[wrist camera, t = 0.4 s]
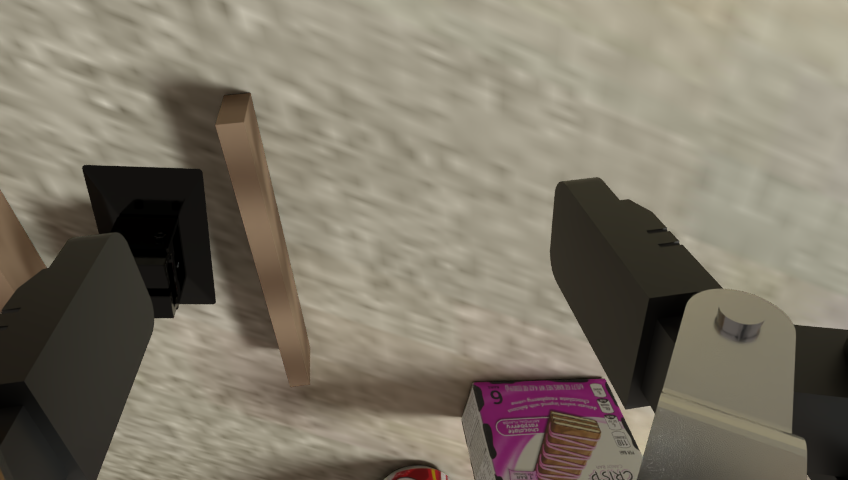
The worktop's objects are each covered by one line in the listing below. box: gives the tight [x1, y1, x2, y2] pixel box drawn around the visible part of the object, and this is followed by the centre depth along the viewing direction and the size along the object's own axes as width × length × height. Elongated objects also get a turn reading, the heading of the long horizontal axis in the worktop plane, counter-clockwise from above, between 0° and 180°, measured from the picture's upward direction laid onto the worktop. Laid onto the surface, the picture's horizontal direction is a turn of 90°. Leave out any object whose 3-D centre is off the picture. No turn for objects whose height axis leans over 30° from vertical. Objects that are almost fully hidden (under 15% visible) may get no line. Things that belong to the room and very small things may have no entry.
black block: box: [82, 165, 216, 318], centre depth 30 cm, size 12×7×5 cm, turn 172°
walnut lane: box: [0, 93, 310, 387], centre depth 30 cm, size 18×14×3 cm
